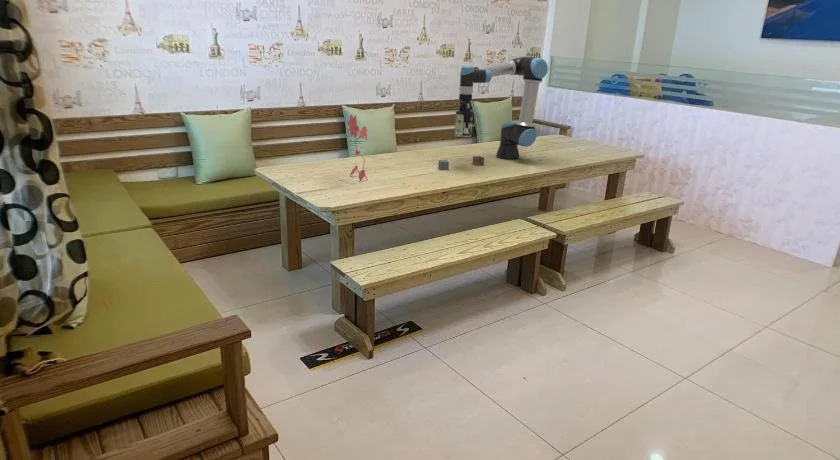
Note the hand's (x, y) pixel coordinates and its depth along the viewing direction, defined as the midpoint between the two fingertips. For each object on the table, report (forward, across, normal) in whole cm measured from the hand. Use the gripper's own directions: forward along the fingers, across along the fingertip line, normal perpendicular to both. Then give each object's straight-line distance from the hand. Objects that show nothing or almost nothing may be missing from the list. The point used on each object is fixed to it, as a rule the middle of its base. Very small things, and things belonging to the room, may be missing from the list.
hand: (463, 131), depth 324 cm
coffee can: (+3, 0, 0) cm, 3 cm away
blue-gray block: (+22, +4, -12) cm, 25 cm away
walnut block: (+22, -6, +13) cm, 26 cm away
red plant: (+22, +24, -68) cm, 75 cm away
